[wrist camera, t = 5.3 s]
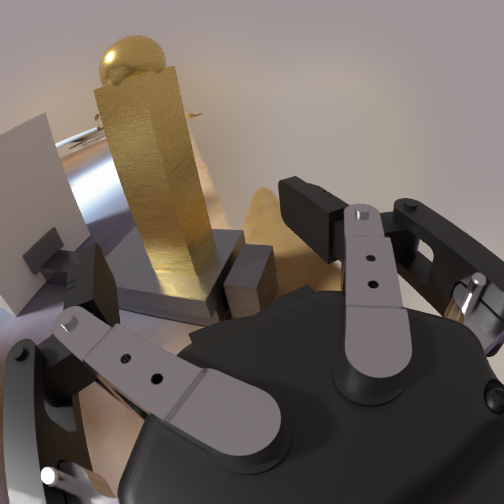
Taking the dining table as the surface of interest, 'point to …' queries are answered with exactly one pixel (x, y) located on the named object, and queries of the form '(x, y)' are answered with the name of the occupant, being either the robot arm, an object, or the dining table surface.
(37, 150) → the cabinet
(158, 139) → the gold sphere topped award
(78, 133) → the dining table surface
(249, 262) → the rail
